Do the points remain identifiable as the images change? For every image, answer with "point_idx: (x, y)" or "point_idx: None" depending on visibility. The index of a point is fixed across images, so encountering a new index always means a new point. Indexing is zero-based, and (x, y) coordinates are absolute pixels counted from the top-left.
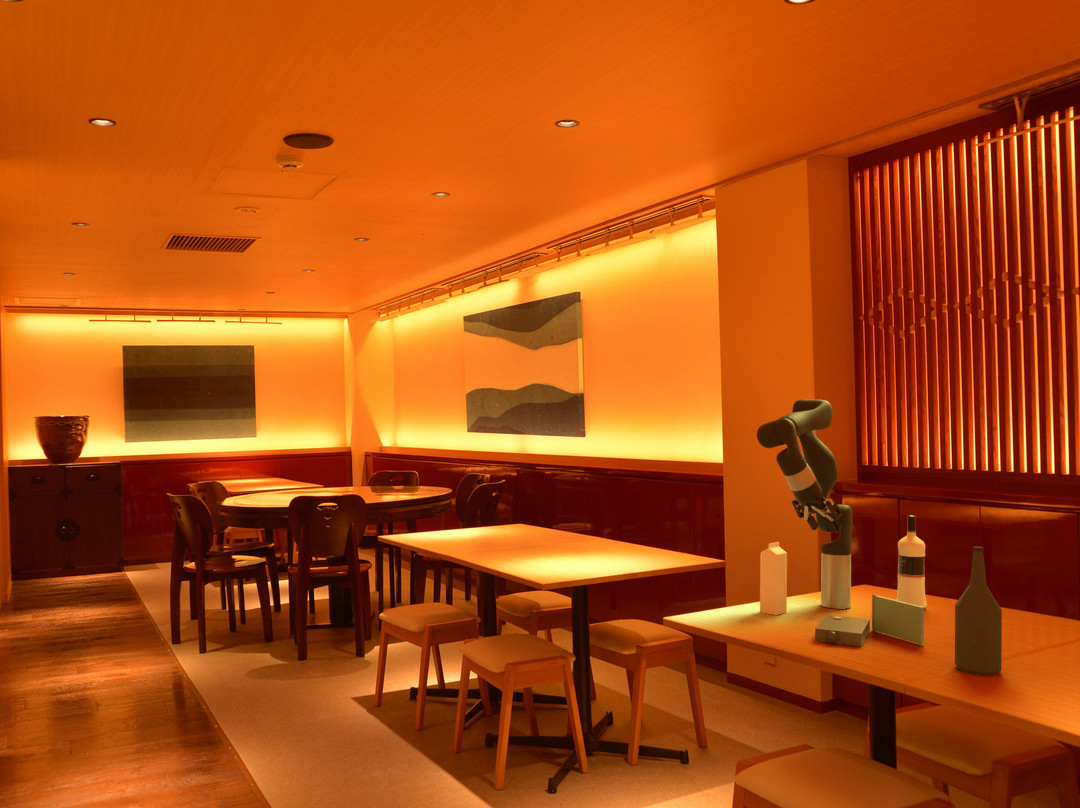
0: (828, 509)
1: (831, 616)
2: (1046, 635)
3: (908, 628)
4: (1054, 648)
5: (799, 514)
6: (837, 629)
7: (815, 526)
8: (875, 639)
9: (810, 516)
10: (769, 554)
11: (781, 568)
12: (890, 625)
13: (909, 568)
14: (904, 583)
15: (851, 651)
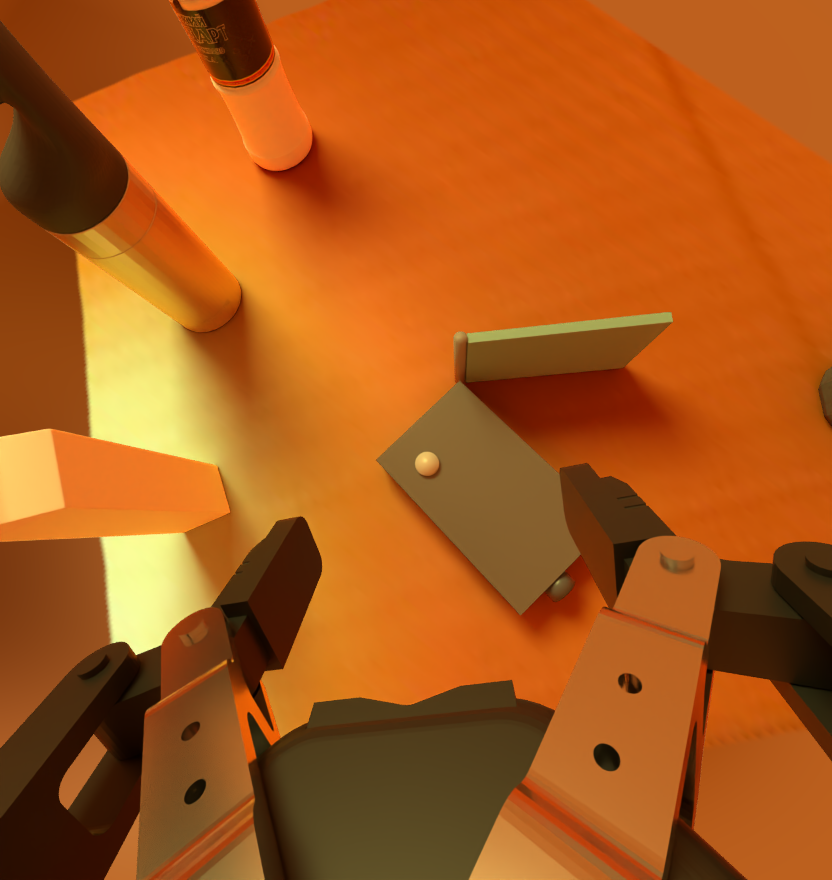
0: (698, 731)
1: (398, 461)
2: (594, 55)
3: (590, 359)
4: (703, 112)
5: (139, 782)
6: (548, 557)
7: (307, 558)
8: (535, 433)
9: (247, 649)
10: (34, 523)
11: (117, 477)
12: (524, 367)
13: (247, 48)
14: (259, 106)
15: None
